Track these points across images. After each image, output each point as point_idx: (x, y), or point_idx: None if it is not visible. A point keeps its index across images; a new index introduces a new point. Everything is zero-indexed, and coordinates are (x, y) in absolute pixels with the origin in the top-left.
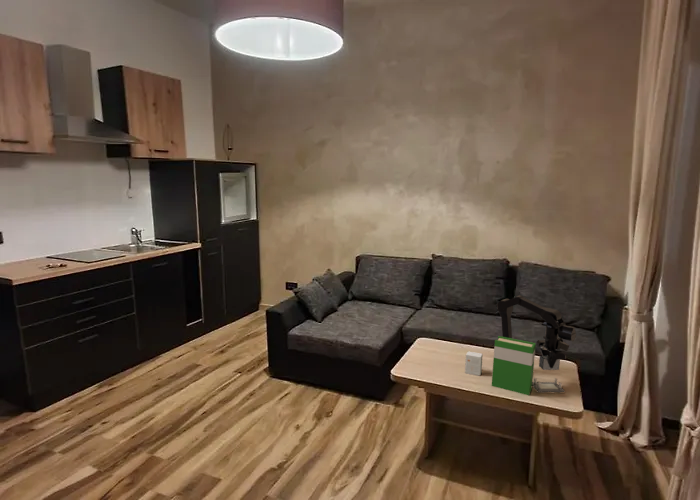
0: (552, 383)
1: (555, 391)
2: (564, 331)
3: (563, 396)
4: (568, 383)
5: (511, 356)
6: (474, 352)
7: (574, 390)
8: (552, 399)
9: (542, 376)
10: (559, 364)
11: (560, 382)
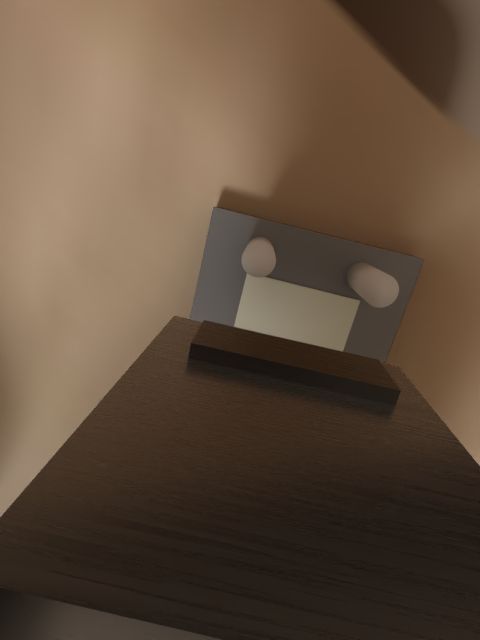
0: (231, 270)
1: (384, 355)
2: None
3: (473, 326)
4: (229, 15)
5: None
6: None
7: (410, 87)
8: (477, 462)
9: (17, 223)
10: (469, 457)
11: (372, 281)
